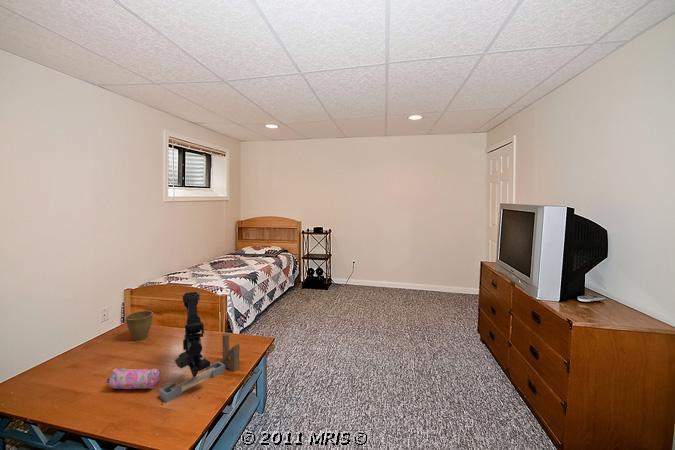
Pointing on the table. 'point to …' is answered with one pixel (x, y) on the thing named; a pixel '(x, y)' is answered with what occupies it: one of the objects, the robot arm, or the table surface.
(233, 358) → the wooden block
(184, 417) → the table surface
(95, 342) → the table surface
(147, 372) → the pencil case
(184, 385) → the slat
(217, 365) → the endcap
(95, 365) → the table surface
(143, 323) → the plant pot
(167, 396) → the endcap
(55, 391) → the table surface
